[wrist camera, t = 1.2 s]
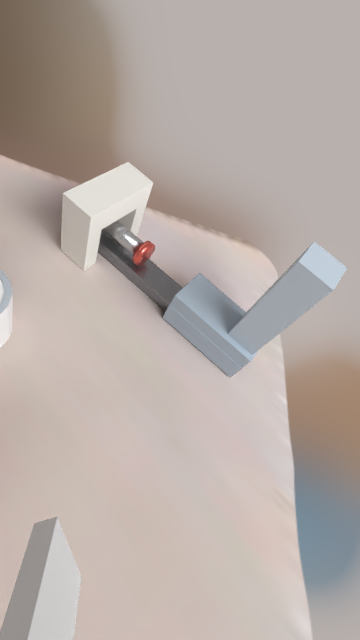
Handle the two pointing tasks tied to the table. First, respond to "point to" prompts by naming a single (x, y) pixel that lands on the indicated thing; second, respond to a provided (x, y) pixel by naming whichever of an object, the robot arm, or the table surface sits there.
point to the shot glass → (5, 308)
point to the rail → (139, 272)
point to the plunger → (130, 242)
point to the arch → (101, 210)
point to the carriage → (251, 310)
